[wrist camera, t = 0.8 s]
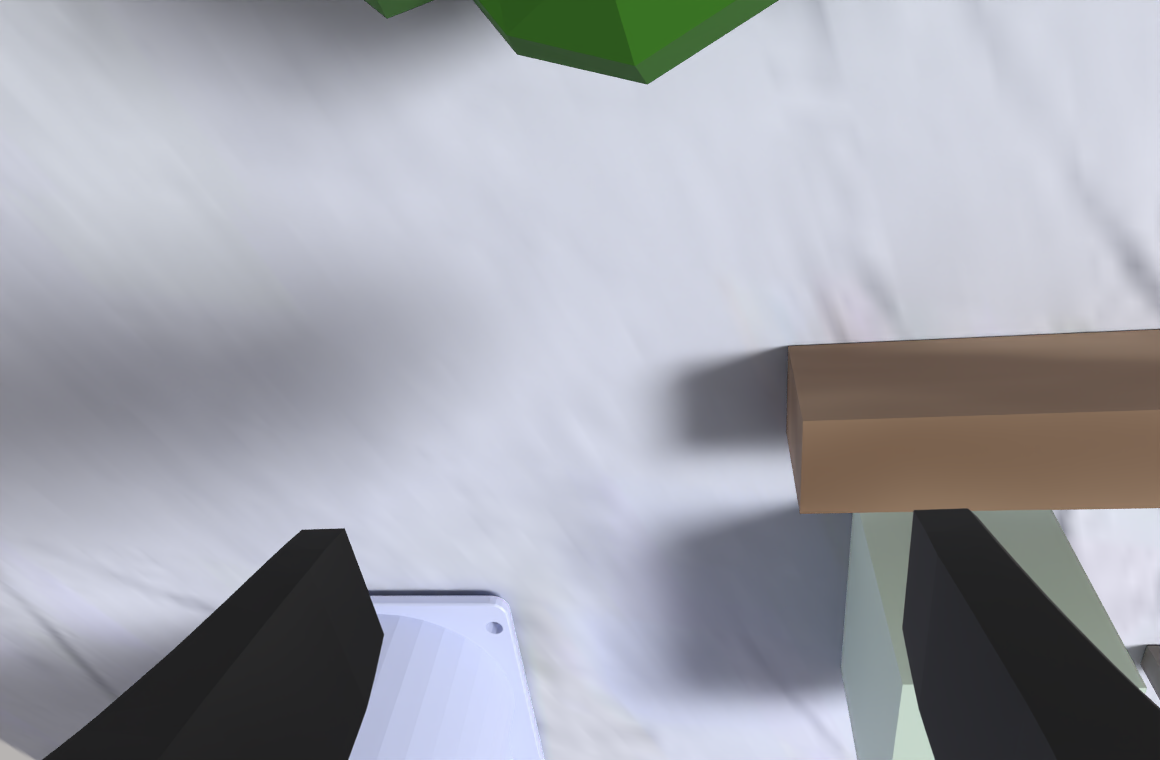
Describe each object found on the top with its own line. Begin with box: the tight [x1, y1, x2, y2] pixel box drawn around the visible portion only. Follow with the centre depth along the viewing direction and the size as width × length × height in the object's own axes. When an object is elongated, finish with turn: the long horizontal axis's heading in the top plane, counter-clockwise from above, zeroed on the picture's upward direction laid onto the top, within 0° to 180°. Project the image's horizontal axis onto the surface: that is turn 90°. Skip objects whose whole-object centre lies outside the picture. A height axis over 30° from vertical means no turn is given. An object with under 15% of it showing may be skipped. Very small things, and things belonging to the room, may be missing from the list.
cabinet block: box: [841, 510, 1147, 760], centre depth 21 cm, size 8×4×6 cm, turn 7°
